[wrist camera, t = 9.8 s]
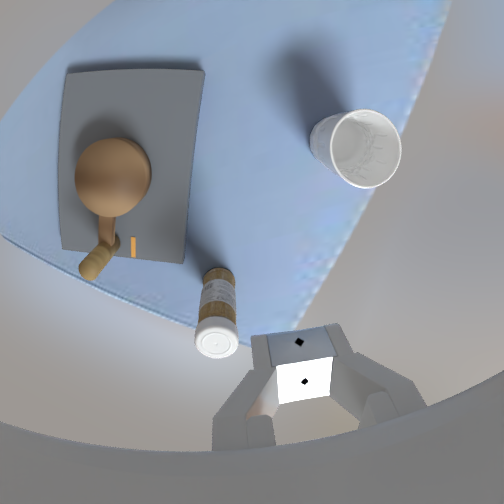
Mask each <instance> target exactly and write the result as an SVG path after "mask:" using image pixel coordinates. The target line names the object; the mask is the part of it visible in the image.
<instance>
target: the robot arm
mask: <svg viewBox="0 0 504 504" xmlns="http://www.w3.org/2000/svg"><path fill="white" fill-rule="evenodd" d="M251 346H252V355H253V364H254V370H249V372H248V373H247V374H246V376H245V377H244V378H243V380H242V381H241V382H240V384H239V385H238V386H237V388H236V389H235V390H234V392H233V393H232V394H231V395H230V397H229V398H228V399H227V401H226V402H225V403H224V405H223V406H222V407H221V408H220V410H219V411H218V412H217V413H216V415H215V416H214V417H213V429H212V431H213V432H212V451H202V452H175V451H151V450H150V451H149V450H136V449H125V448H116V447H108V446H101V445H93V444H88V443H82V442H76V441H71V440H66V439H61V438H56V437H52V436H48V435H44V434H40V433H36V432H32V431H29V430H25V429H21V428H19V427H15V426H12V425H9V424H6V423H3V422H1V421H0V504H504V370H503V371H502V372H500V373H498V374H496V375H494V376H493V377H491V378H489V379H487V380H485V381H483V382H481V383H479V384H477V385H475V386H473V387H471V388H469V389H467V390H465V391H463V392H461V393H459V394H457V395H454V396H452V397H450V398H448V399H445V400H443V401H441V402H438V403H436V404H433V405H431V406H428V407H427V405H426V403H425V402H424V400H423V399H422V396H421V395H420V393H419V392H418V390H417V388H416V386H415V385H414V383H413V381H411V380H409V379H407V378H406V377H404V376H402V375H400V374H398V373H396V372H394V371H392V370H390V369H388V368H386V367H384V366H383V365H380V364H378V363H377V362H375V361H373V360H371V359H369V358H367V357H366V356H364V355H362V354H360V353H358V352H357V353H353V350H352V348H351V346H350V344H349V342H348V340H347V339H346V336H345V335H344V333H343V331H342V329H341V327H340V325H339V324H338V323H335V324H329V325H324V326H321V327H315V328H309V329H303V330H296V331H288V332H279V333H270V334H263V335H254V336H251ZM324 395H329V396H330V397H331V398H332V399H333V400H335V401H336V402H337V403H338V404H340V405H341V406H342V407H343V408H344V409H346V410H347V411H348V412H349V413H351V414H352V415H353V416H354V417H355V418H357V419H358V420H359V421H360V423H359V427H358V430H355V431H351V432H347V433H343V434H338V435H335V436H330V437H325V438H320V439H315V440H309V441H304V442H298V443H292V444H285V445H278V446H276V442H275V435H274V429H273V423H272V418H273V417H274V415H275V413H276V411H277V409H278V407H279V405H280V403H283V402H289V401H295V400H300V399H305V398H312V397H317V396H324Z"/></svg>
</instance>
